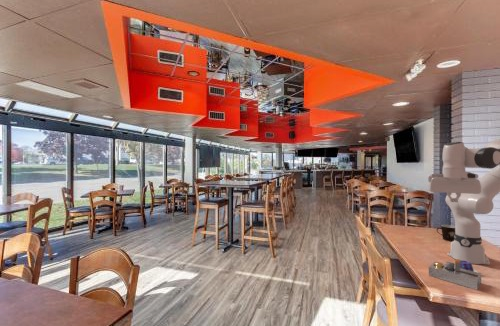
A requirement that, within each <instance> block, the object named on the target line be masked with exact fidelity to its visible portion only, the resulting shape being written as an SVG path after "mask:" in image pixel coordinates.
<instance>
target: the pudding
mask: <svg viewBox="0 0 500 326" xmlns="http://www.w3.org/2000/svg"><path fill="white" fill-rule="evenodd" d="M454 267H455V265H454ZM461 268H462V269H466V270H470V271H473V272H477V273H480V272H479V271H477V270H475V269H474V268H473V264H472V263H470V262H467V261H463V260H461Z"/></svg>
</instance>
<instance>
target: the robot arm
mask: <svg viewBox="0 0 500 326" xmlns="http://www.w3.org/2000/svg"><path fill="white" fill-rule="evenodd" d="M442 162H443V164H442V171H441V173H432V174H430V175H428V178H427V179H428V191H429V192H430V193H446V196H445V204H446V205H447V206H448V207H449V208H450V210H451V212H452V216H453V219H454V226H455V234H454V241H450V252H447V254H446V255H447V256H448V257H451V258H453V259H454V260H456V259H459V260H463V261H467V262H470V263H471V264H472V265H473V264H474V265H487V266H490V265H491V262H490V259H489V257H488V255H487V254H486V253H485V248H484V246H483V245H482V243H483V242H482V241H483V240H482V237H481V223H480V221H479V220H478V219H477V218H476V216H475V215H487V214H488V215H489V214H490V213H491V212H492V211H493V209H494V202H493V200H494V198H495V197H496V196H497V195H498V194H500V139H496V140H493V141H490V142H488V143H487V144H486V145H485V146H484V147H480V148H479V147H478V148H468V147H466V146H465V144H464V142H462V141H453V142H447V143H445V144H444V145H443V148H442ZM466 168H468V169H489V170H490V171H488V172H486V174H484V175H483V176H482V177H480V178H479V174H477V173H474V172H470V171H466ZM478 178H479V179H478ZM474 214H475V215H474Z"/></svg>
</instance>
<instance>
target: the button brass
mask: <svg viewBox="0 0 500 326" xmlns="http://www.w3.org/2000/svg"><path fill="white" fill-rule="evenodd" d="M434 262H435V266H436V267H440V268H443V264H444V263H443V262H439V261H434Z"/></svg>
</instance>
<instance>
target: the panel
mask: <svg viewBox="0 0 500 326" xmlns="http://www.w3.org/2000/svg"><path fill="white" fill-rule="evenodd" d="M435 262H436V261H433V262H432V263H431V264H429V266H428V276H430V277H433V278H435V279H439V280H442V281H446V282H449V283H453V284H456V285H458V286H463V287H466V288H469V289H473V290H475V291H478V289H479V288H480V286H481V284H482V273H481V272H479V273H477V272H478V271H477V272H473V271H470V270H466V269H462V268H461V270H460V271H459V272H458V271H455V267H454V271H451V270H448V269H446V263H442V264H443V268H440V267H436V266H435Z"/></svg>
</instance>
